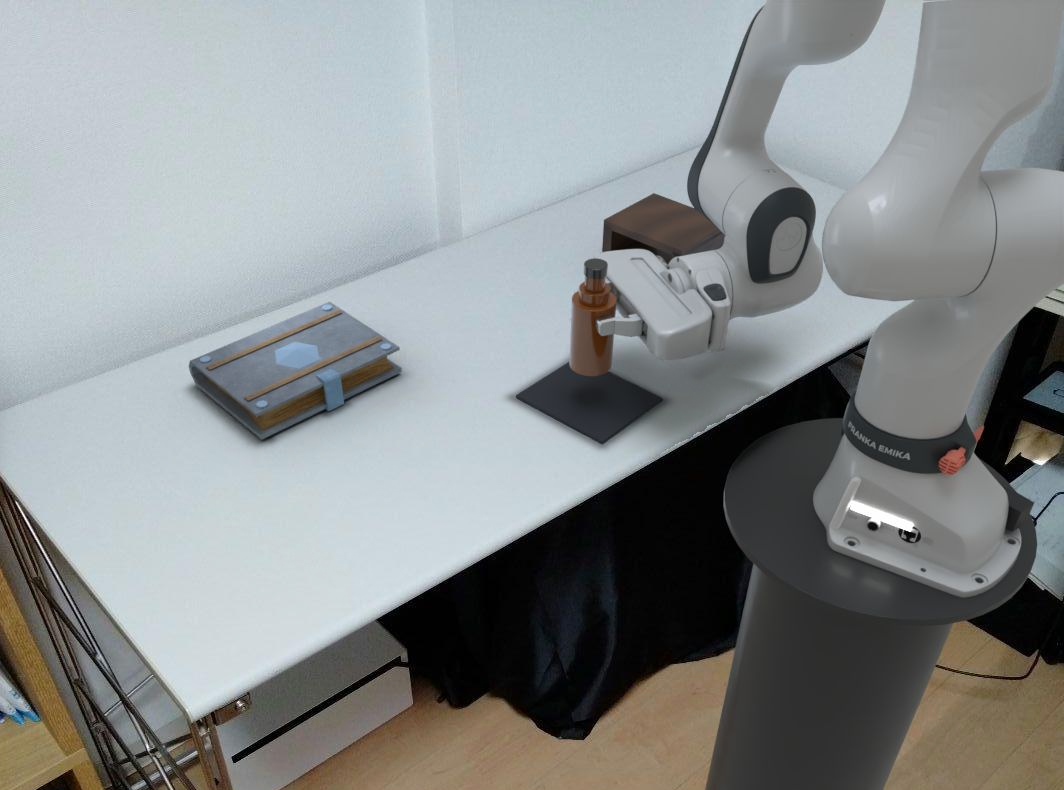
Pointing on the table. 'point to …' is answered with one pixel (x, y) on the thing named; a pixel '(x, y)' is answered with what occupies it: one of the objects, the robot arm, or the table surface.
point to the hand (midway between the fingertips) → (586, 312)
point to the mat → (590, 401)
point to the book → (295, 368)
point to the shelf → (661, 229)
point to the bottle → (591, 322)
